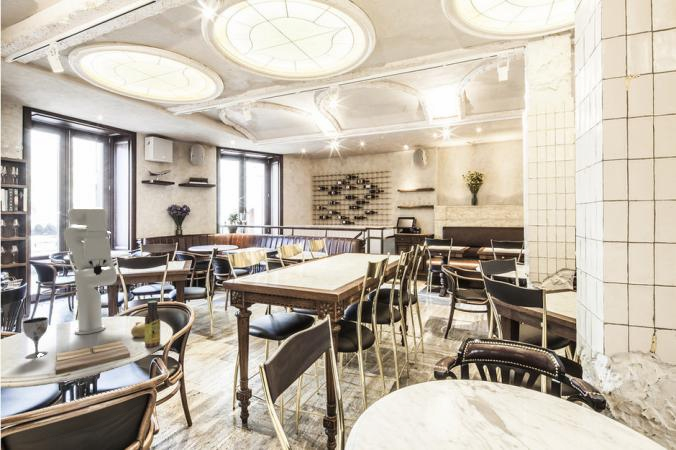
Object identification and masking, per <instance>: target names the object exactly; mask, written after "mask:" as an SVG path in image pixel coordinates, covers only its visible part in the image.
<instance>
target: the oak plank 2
mask: <svg viewBox="0 0 676 450" xmlns="http://www.w3.org/2000/svg"><path fill="white" fill-rule="evenodd" d="M122 347H126V346H125V343H124V342H123V341H122V340H117V341H113V342H107V343H103V344H98V345H93V346H91V350H92V354H95V353H100V352H104V351H109V350H113V349H118V348H122Z"/></svg>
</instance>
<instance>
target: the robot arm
mask: <svg viewBox="0 0 676 450" xmlns="http://www.w3.org/2000/svg"><path fill="white" fill-rule="evenodd" d="M67 219H68V222H69V223H70V224H71V226H68V227H66V228H65V230H64V231H63V238H64V242H65V244H66V246H67V247H68V249H69V251H70V252H71V253H72V257H73V261H74V266H75V268H76V270H77V271H76V273H75V274H74V282H75V283H74V284H75V287H76V294H77V295H76V296H77V316H78V317H77V318H78V319H77V320H78V328H76V329H75V330H74V334H76V335H90V334H94V333H95V334H96V333H98V332H101V331H103V330H105V329H106V324H102V295H101V293H100V292H99V291H98V290H97V289H96V288H97V287H102V286H103V287H104V286H111V285H113V284H115V283H116V282H117V280H118V279H117V278H118V274H117V270H116V267H115V264H114V261H113V258H112V254H111V253H112V251H111V244H110V242H111V241H110V239H109V237H108V236H110V235H111V231H108V230H107V223H108V222H107V221H108V212H107V210H106V209H105V208H104V207H93V206H91V207H90V206H89V207H87V206H85V207H80V206H79V207H76V206H75V207H71V208H70V209H69V210H68V214H67Z"/></svg>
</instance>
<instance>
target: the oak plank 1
mask: <svg viewBox="0 0 676 450" xmlns="http://www.w3.org/2000/svg"><path fill="white" fill-rule="evenodd" d="M91 354H92V352H91V349H90V347H89V346H88V347H84V348H79V349H74V350H70V351H64V352H60V353H56V362H59V361H64V360H68V359H73V358H77V357H82V356H86V355H91Z"/></svg>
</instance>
